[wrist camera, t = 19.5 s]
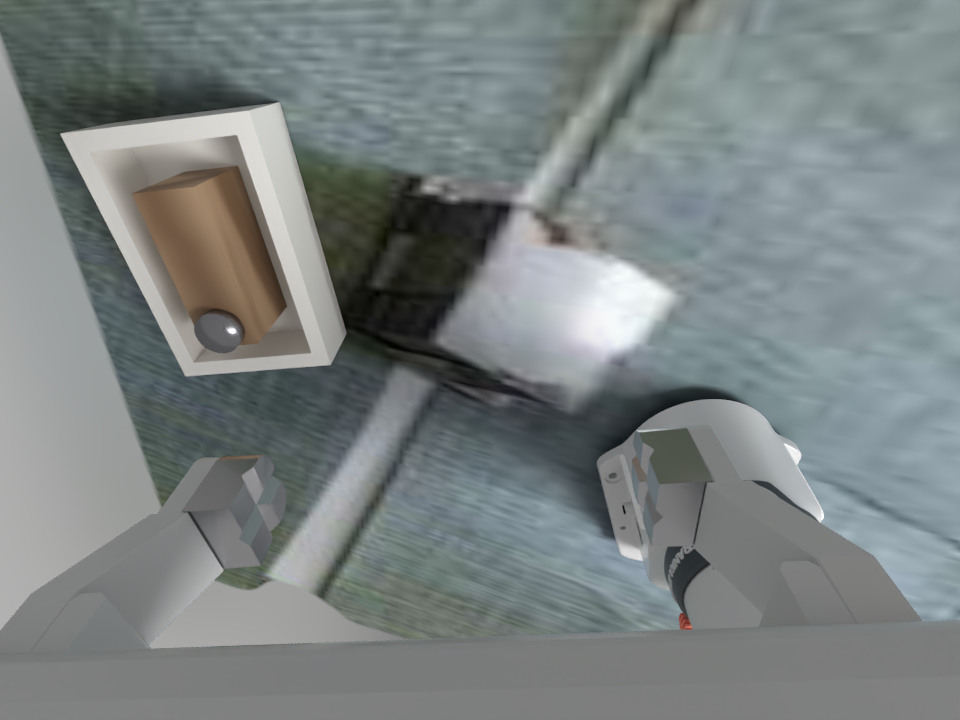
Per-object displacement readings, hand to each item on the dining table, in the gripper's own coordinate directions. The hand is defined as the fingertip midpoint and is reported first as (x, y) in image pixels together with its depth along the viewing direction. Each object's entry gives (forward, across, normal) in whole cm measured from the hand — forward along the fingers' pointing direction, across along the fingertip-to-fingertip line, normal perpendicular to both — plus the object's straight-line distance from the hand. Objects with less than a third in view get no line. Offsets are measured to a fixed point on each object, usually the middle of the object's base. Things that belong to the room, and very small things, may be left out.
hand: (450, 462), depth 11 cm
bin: (+29, +19, +3) cm, 35 cm away
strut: (+28, +19, +3) cm, 34 cm away
